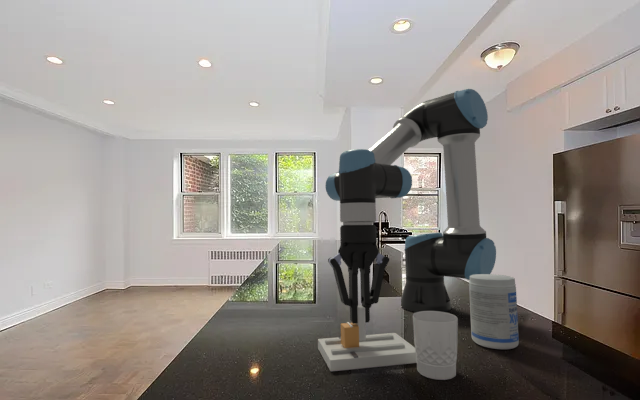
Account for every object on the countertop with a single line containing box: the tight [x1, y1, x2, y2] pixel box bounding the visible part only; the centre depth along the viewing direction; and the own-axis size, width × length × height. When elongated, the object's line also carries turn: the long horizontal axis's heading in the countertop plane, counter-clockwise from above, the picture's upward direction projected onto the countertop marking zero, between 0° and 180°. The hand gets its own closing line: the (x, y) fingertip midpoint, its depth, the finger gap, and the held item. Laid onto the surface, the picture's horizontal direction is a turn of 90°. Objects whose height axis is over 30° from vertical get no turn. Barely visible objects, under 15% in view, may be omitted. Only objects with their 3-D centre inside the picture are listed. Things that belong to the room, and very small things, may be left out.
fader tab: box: [340, 321, 359, 348], centre depth 72 cm, size 3×3×4 cm
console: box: [317, 332, 417, 372], centre depth 72 cm, size 18×12×3 cm, turn 102°
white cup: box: [412, 311, 459, 381], centre depth 64 cm, size 8×8×10 cm
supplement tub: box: [468, 273, 520, 350], centre depth 79 cm, size 10×10×15 cm
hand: (360, 338), depth 72 cm, fingers closed
